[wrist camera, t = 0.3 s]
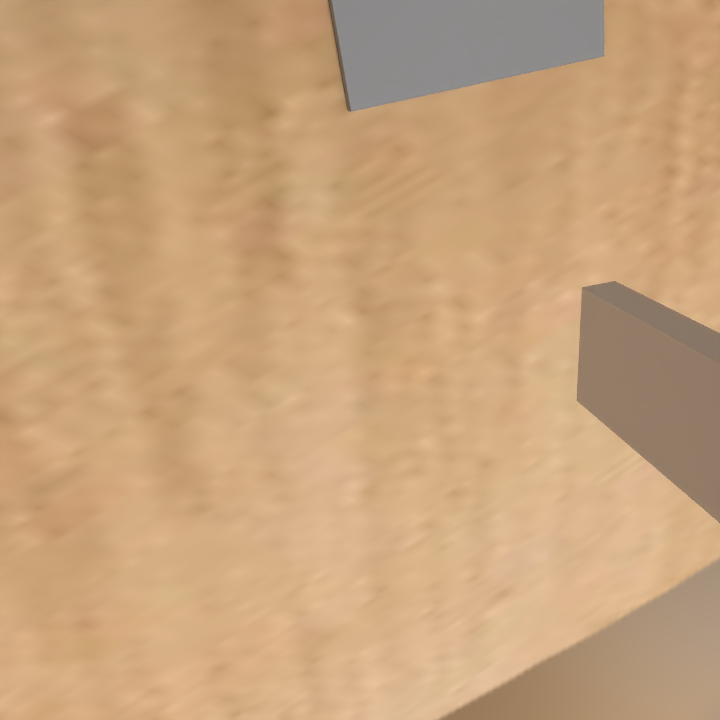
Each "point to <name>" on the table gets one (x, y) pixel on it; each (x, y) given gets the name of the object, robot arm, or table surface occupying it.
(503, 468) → the table surface
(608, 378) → the robot arm
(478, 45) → the grey base with peg
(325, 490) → the table surface
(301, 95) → the table surface
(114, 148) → the table surface
